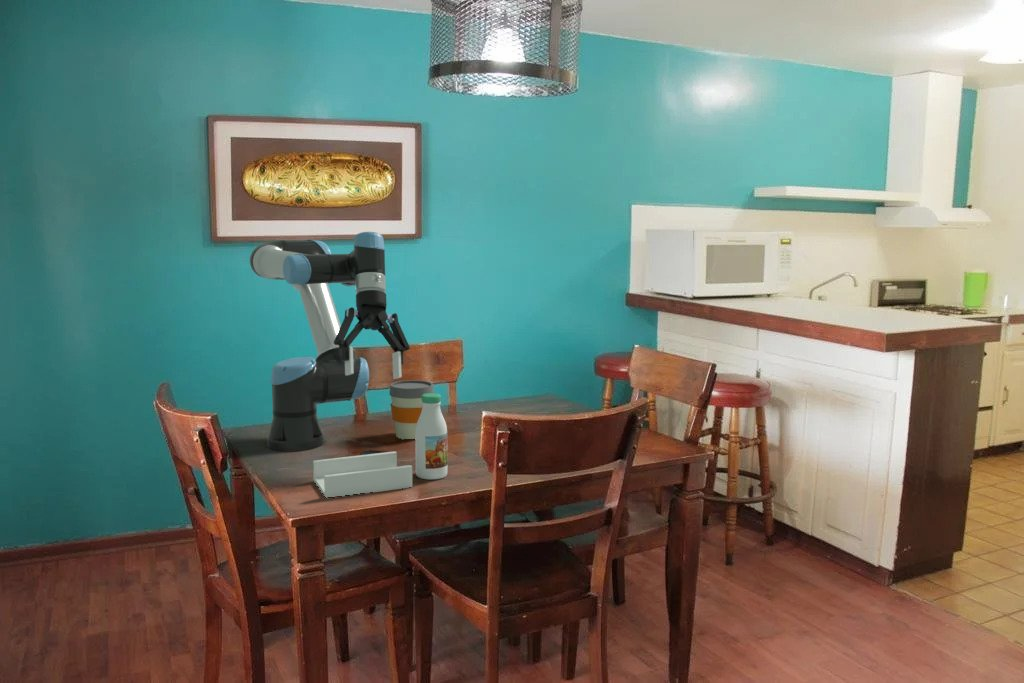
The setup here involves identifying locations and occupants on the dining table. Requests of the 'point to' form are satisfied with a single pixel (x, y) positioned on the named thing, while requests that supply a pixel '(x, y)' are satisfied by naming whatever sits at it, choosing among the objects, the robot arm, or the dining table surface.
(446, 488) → the dining table surface
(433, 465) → the milk bottle
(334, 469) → the duct channel
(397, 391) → the reusable coffee cup
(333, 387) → the robot arm
